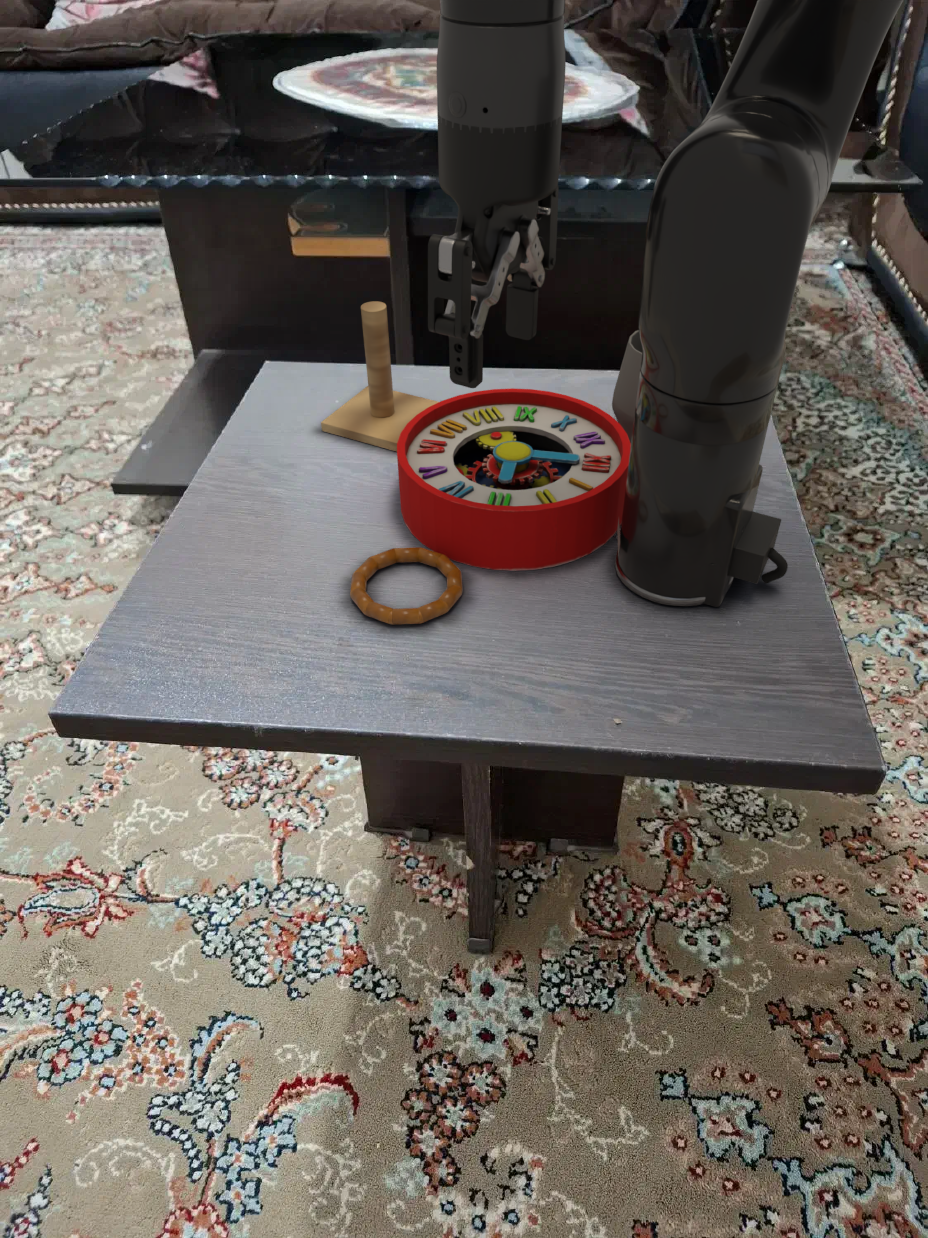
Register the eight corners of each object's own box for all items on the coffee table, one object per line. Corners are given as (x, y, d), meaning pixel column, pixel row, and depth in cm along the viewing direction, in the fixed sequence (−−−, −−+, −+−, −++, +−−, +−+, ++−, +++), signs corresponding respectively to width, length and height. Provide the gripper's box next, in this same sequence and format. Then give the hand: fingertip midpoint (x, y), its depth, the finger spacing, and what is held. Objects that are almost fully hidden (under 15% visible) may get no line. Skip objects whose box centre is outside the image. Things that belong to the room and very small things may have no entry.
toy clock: (426, 380, 85) (638, 397, 82) (429, 434, 89) (631, 452, 86) (368, 497, 71) (623, 523, 67) (374, 556, 75) (615, 583, 71)
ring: (481, 574, 72) (481, 563, 72) (427, 641, 67) (426, 629, 66) (389, 545, 76) (388, 533, 75) (329, 605, 70) (328, 594, 69)
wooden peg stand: (443, 411, 93) (439, 296, 85) (398, 452, 87) (389, 333, 79) (370, 392, 96) (359, 281, 88) (321, 431, 90) (305, 315, 82)
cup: (697, 415, 91) (713, 320, 84) (714, 464, 84) (733, 365, 78) (603, 415, 91) (612, 320, 85) (613, 464, 84) (624, 365, 78)
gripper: (501, 142, 47) (495, 415, 58) (604, 87, 57) (582, 332, 68) (382, 125, 50) (398, 389, 61) (498, 75, 59) (494, 312, 70)
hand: (494, 359), depth 64 cm, fingers open, 8 cm apart
